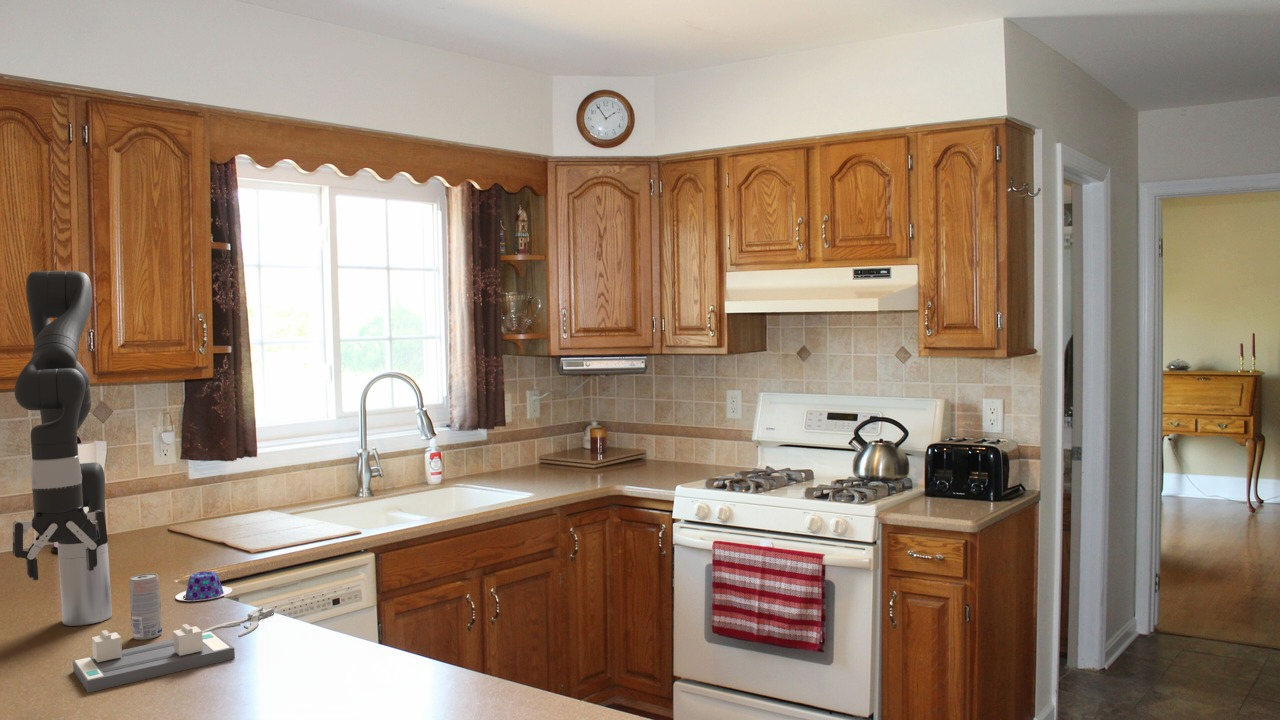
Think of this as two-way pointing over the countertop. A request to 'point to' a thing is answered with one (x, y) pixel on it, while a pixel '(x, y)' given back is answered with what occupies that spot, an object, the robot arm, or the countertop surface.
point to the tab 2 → (187, 640)
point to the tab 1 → (106, 646)
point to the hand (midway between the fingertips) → (63, 574)
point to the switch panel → (149, 662)
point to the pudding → (203, 587)
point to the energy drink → (145, 606)
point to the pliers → (252, 617)
